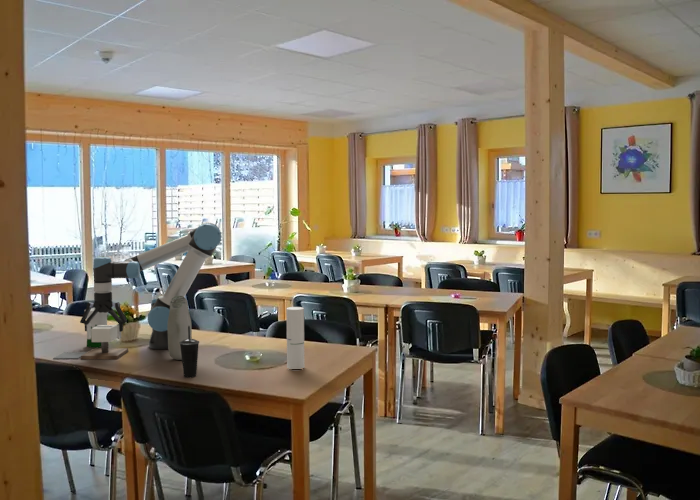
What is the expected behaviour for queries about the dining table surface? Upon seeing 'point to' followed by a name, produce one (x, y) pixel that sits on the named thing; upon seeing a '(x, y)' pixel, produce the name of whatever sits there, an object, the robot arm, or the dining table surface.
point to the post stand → (105, 352)
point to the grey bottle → (178, 325)
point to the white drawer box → (104, 333)
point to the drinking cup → (189, 356)
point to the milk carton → (97, 320)
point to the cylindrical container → (295, 337)
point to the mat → (70, 355)
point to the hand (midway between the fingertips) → (104, 338)
